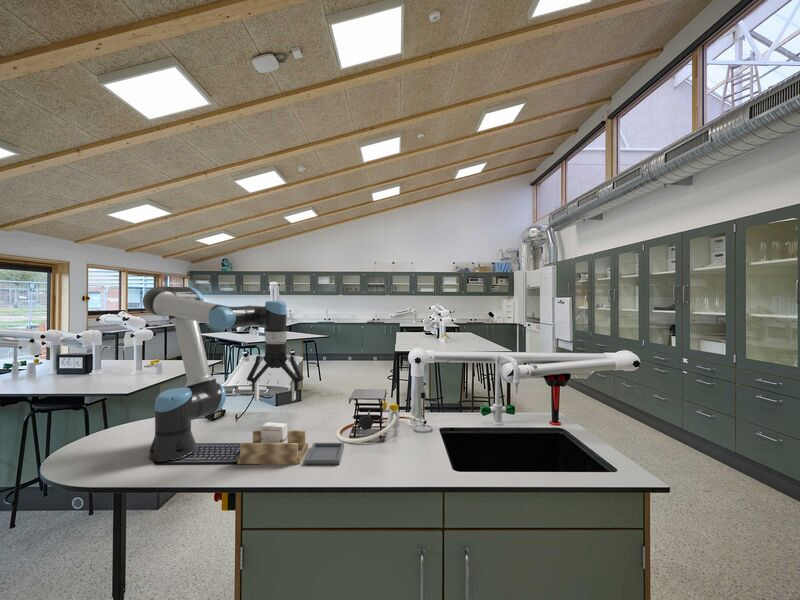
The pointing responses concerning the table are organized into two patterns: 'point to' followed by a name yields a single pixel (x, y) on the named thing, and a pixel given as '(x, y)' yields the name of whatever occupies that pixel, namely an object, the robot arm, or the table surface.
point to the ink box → (274, 433)
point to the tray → (325, 454)
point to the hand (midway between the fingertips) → (275, 399)
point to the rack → (274, 449)
